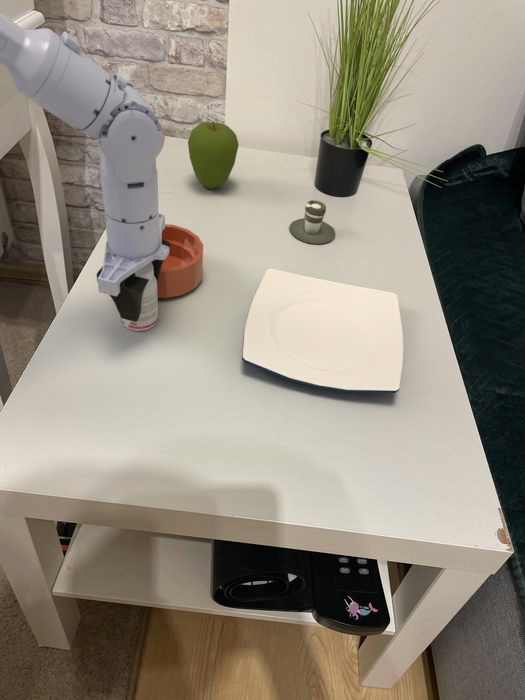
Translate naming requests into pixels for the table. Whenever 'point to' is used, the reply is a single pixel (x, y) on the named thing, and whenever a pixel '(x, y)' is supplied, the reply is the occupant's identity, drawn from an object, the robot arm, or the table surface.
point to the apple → (212, 153)
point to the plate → (325, 333)
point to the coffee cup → (313, 225)
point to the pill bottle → (146, 302)
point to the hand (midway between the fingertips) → (138, 305)
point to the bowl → (180, 262)
